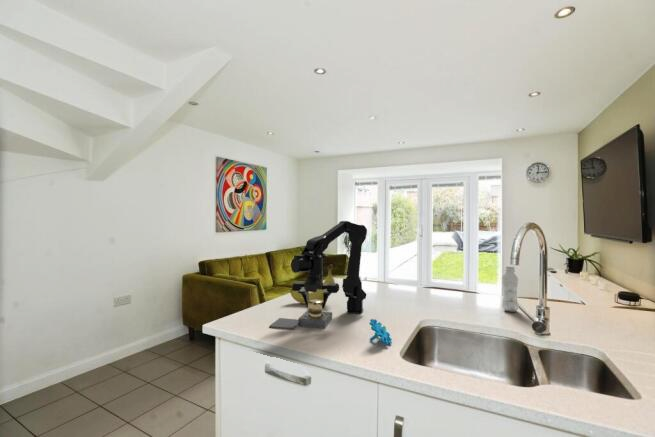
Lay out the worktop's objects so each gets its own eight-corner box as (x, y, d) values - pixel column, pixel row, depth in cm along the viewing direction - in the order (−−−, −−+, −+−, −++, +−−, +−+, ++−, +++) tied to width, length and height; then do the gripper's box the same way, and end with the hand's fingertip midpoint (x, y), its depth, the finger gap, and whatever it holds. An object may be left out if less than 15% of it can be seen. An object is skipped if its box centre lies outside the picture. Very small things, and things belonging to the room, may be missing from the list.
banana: (288, 304, 154) (288, 264, 154) (292, 301, 160) (291, 262, 160) (334, 306, 150) (333, 265, 150) (335, 303, 156) (335, 263, 156)
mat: (302, 321, 129) (302, 319, 129) (293, 329, 119) (293, 328, 119) (279, 319, 132) (279, 317, 132) (269, 327, 122) (269, 325, 122)
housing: (332, 319, 131) (332, 312, 131) (325, 328, 121) (325, 320, 121) (307, 317, 134) (307, 310, 134) (298, 325, 124) (298, 318, 123)
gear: (388, 345, 100) (368, 319, 104) (375, 356, 102) (356, 330, 106) (397, 338, 110) (378, 315, 114) (385, 348, 112) (367, 325, 116)
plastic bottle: (503, 312, 140) (503, 268, 140) (501, 308, 146) (500, 265, 146) (519, 314, 137) (519, 268, 137) (516, 309, 144) (516, 266, 143)
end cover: (325, 317, 130) (325, 300, 130) (321, 322, 123) (321, 304, 123) (310, 316, 131) (310, 299, 131) (305, 321, 125) (305, 303, 125)
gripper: (286, 272, 122) (287, 312, 122) (333, 274, 117) (333, 315, 117) (296, 268, 132) (296, 304, 133) (339, 269, 128) (339, 307, 128)
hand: (315, 308), depth 127 cm, fingers closed on end cover, 6 cm apart
